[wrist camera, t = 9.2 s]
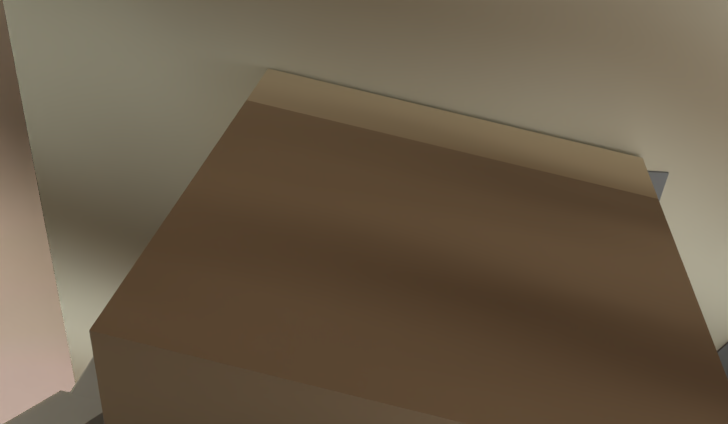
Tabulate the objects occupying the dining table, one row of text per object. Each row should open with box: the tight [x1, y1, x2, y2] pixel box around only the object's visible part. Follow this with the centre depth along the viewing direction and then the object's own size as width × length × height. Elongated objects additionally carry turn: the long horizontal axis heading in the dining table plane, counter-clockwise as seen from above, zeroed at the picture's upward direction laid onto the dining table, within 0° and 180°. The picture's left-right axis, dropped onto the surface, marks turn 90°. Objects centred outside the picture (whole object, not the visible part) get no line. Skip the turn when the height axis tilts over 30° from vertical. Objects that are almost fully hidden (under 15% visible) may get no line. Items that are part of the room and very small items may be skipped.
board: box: [3, 0, 728, 384], centre depth 12 cm, size 14×19×2 cm
